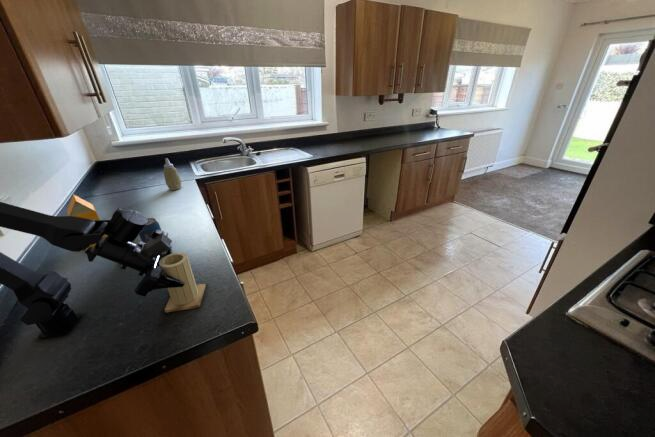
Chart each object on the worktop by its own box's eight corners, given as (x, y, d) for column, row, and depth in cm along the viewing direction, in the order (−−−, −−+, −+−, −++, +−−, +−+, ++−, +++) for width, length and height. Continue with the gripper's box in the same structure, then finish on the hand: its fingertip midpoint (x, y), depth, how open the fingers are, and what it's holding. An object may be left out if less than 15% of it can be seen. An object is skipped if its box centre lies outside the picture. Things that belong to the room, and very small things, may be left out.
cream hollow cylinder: (166, 303, 76) (152, 265, 70) (182, 286, 82) (171, 251, 76) (188, 306, 75) (175, 268, 69) (202, 289, 81) (192, 253, 75)
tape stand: (165, 312, 74) (159, 299, 72) (175, 290, 82) (170, 277, 80) (199, 307, 76) (195, 294, 73) (206, 285, 83) (202, 273, 81)
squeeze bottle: (182, 189, 156) (173, 159, 148) (167, 192, 154) (157, 161, 145) (183, 185, 163) (175, 155, 154) (168, 187, 160) (159, 157, 152)
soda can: (163, 242, 106) (154, 215, 101) (169, 249, 102) (160, 221, 96) (144, 249, 102) (132, 222, 96) (149, 257, 98) (138, 228, 92)
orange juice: (107, 235, 112) (86, 190, 102) (111, 243, 106) (89, 197, 97) (84, 243, 107) (59, 196, 98) (86, 251, 101) (60, 203, 92)
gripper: (132, 249, 58) (199, 276, 67) (151, 213, 74) (204, 239, 82) (104, 285, 60) (173, 308, 68) (129, 242, 76) (182, 265, 84)
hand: (185, 276), depth 76 cm, fingers closed on cream hollow cylinder, 7 cm apart
